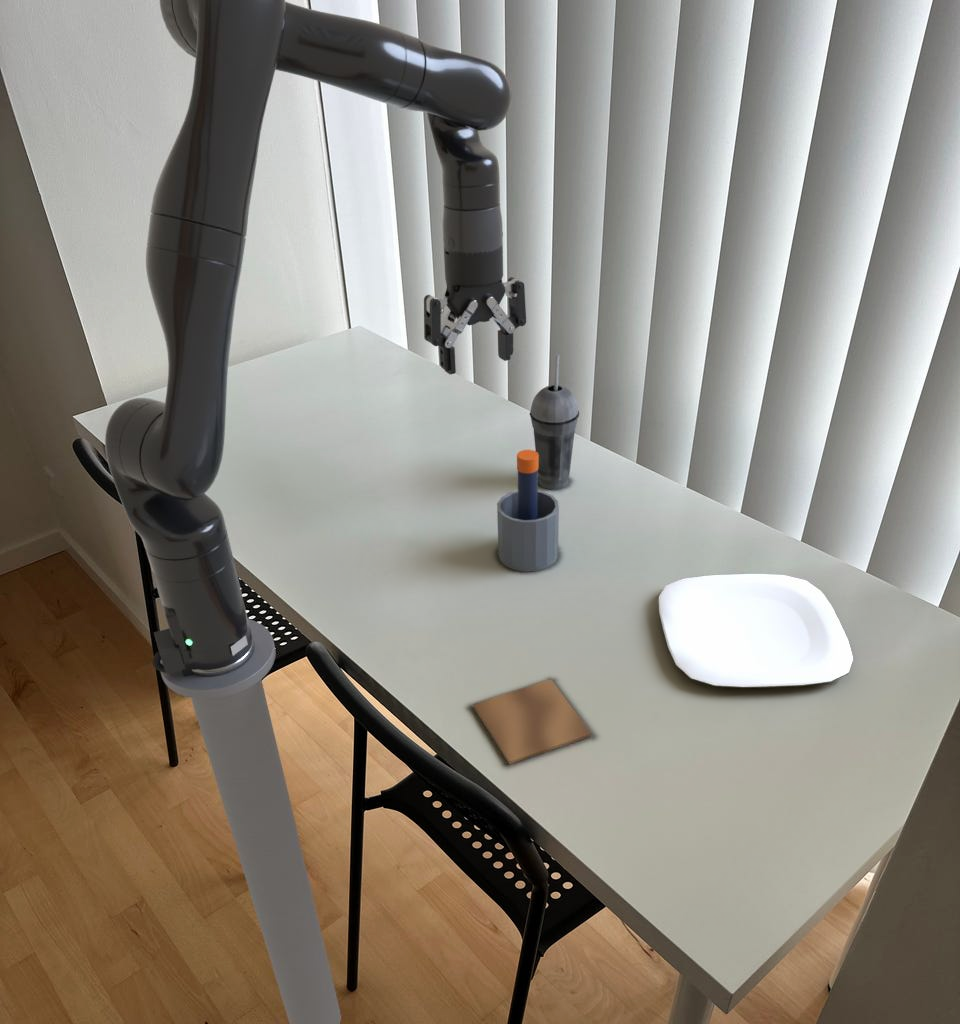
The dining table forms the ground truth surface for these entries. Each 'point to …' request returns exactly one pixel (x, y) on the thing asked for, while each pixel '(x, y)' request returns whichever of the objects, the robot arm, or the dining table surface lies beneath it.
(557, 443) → the beverage cup
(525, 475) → the marker
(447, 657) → the dining table surface
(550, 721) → the mat
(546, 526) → the pot
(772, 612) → the plate
